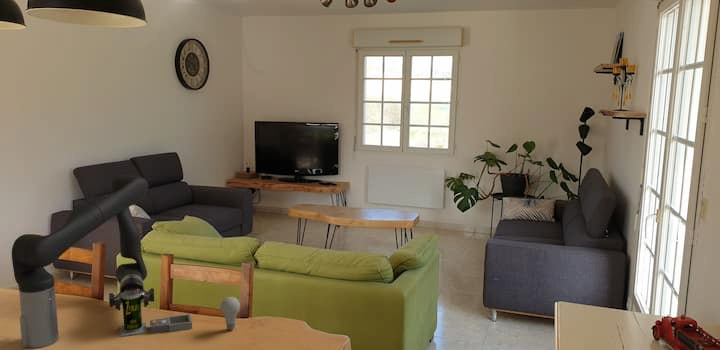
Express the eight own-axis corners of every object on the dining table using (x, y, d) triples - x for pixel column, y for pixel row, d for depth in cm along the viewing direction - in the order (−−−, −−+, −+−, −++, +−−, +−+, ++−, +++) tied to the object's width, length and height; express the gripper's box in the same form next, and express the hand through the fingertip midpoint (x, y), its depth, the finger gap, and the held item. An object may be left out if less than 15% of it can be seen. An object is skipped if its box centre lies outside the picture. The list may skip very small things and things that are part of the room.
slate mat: (120, 337, 172) (120, 335, 172) (120, 327, 179) (120, 326, 179) (146, 333, 175) (146, 332, 175) (145, 323, 182) (145, 322, 182)
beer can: (123, 327, 178) (121, 291, 176) (141, 324, 180) (139, 288, 178) (125, 333, 173) (122, 297, 171) (143, 330, 176) (141, 294, 174)
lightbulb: (243, 326, 181) (242, 294, 179) (237, 334, 175) (236, 301, 173) (224, 325, 182) (224, 293, 180) (218, 333, 176) (217, 300, 174)
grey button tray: (150, 334, 174) (150, 326, 173) (150, 325, 180) (149, 317, 180) (192, 328, 179) (191, 320, 178) (189, 320, 185) (189, 312, 185)
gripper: (108, 279, 185) (106, 297, 170) (153, 274, 190) (156, 291, 175) (109, 301, 186) (107, 320, 171) (154, 295, 192) (157, 313, 177)
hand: (132, 305), depth 173 cm, fingers open, 7 cm apart
